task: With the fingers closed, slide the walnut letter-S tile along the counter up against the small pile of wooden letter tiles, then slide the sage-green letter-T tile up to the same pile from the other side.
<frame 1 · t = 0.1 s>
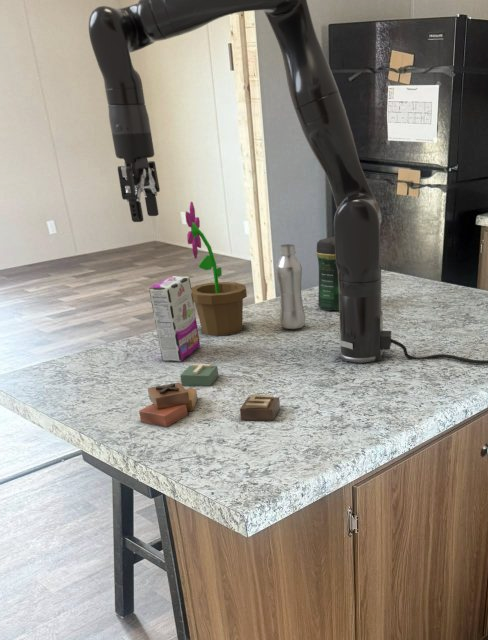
hand: (146, 218, 147), 29 cm above the worktop, tool pointing down, fingers open, 8 cm apart
letter S: (260, 414, 130), on the worktop
letter T: (200, 380, 146), on the worktop
letter pile: (172, 411, 132), on the worktop
coffee jar: (336, 308, 196), on the worktop
candy bar box: (181, 355, 162), on the worktop
flowerpot: (222, 330, 179), on the worktop
silver metal bottle: (293, 329, 178), on the worktop
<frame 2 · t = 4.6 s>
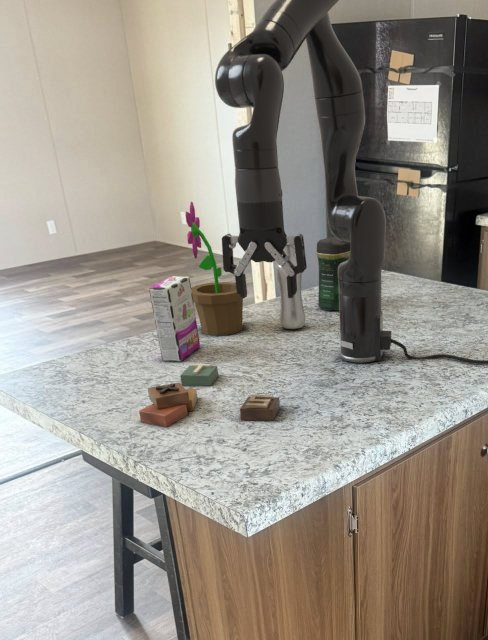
hand: (267, 297, 124), 20 cm above the worktop, tool pointing down, fingers open, 8 cm apart
nothing on the worktop moved.
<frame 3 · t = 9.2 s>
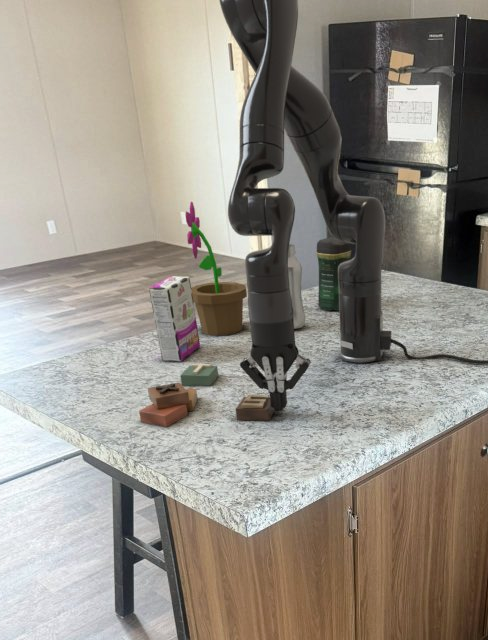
hand: (279, 409, 129), 1 cm above the worktop, tool pointing down, fingers closed
letter S: (256, 414, 130), on the worktop, touching gripper
everything else where it was.
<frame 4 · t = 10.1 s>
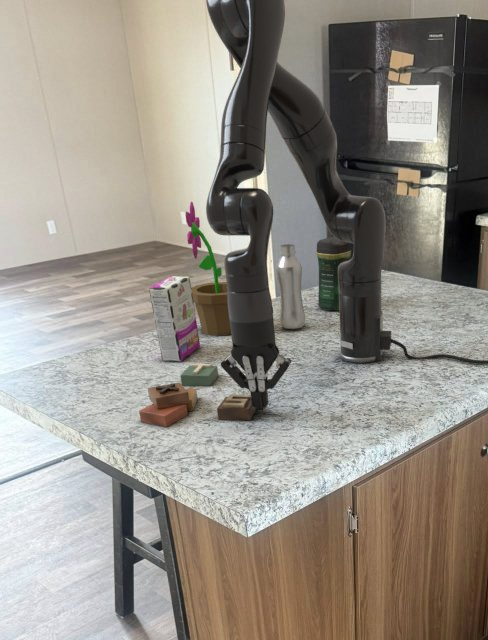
hand: (261, 408, 129), 1 cm above the worktop, tool pointing down, fingers closed
letter S: (238, 413, 130), on the worktop, touching gripper
everything else where it was.
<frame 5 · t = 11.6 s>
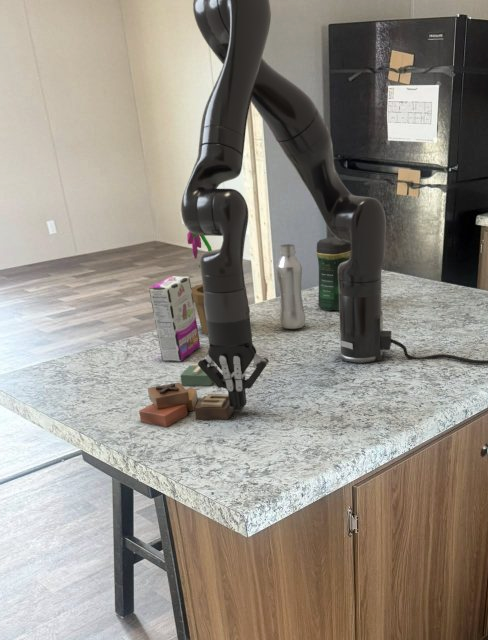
hand: (239, 408, 130), 1 cm above the worktop, tool pointing down, fingers closed
letter S: (216, 413, 131), on the worktop, touching gripper
everything else where it was.
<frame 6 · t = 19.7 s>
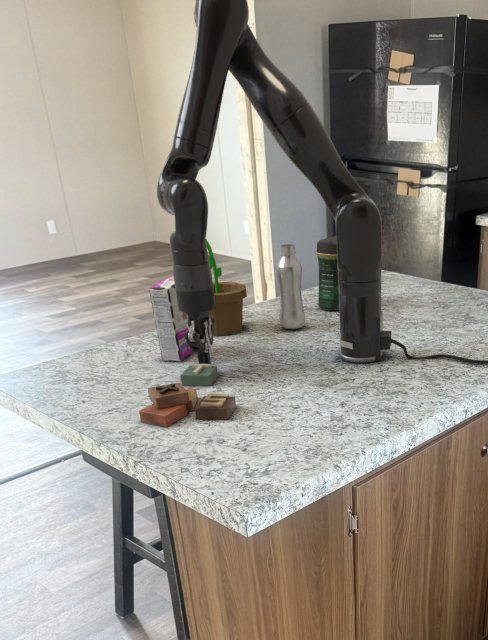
hand: (205, 368, 150), 1 cm above the worktop, tool pointing down, fingers closed
letter S: (216, 413, 131), on the worktop
letter T: (200, 380, 146), on the worktop, touching gripper
everything else where it was.
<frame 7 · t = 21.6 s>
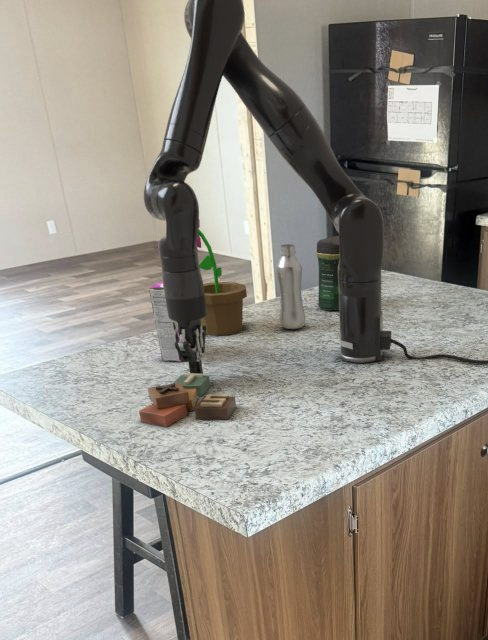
hand: (197, 378, 144), 1 cm above the worktop, tool pointing down, fingers closed
letter T: (191, 390, 141), on the worktop, touching gripper
everything else where it was.
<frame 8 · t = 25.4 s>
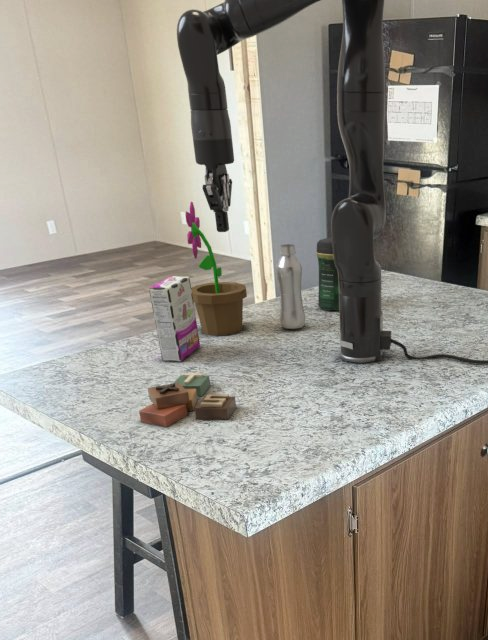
hand: (223, 231, 145), 27 cm above the worktop, tool pointing down, fingers closed
letter T: (191, 390, 141), on the worktop
everything else where it was.
at the end: letter S 8.5 cm from the letter pile (horizontally); letter T 11.1 cm from the letter pile (horizontally); letter S tilted 0° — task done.
